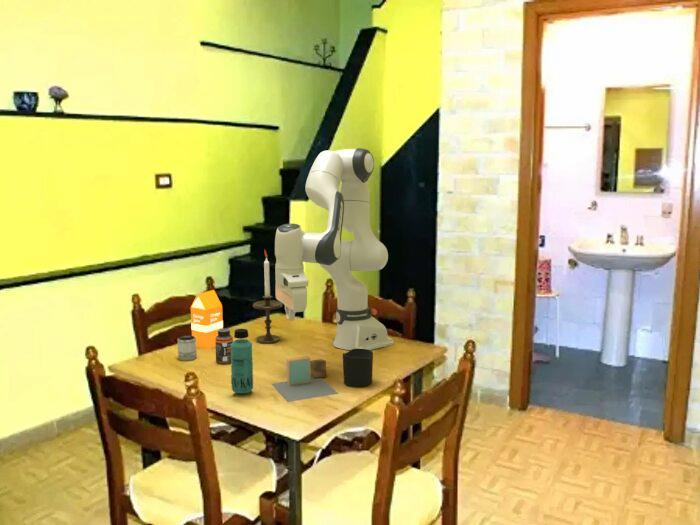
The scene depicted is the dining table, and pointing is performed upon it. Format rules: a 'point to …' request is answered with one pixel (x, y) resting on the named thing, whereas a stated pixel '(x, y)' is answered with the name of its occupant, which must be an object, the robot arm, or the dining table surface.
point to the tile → (298, 370)
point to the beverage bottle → (241, 363)
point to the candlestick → (267, 308)
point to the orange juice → (206, 318)
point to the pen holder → (358, 368)
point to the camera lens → (187, 348)
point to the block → (318, 368)
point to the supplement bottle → (223, 346)
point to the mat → (304, 389)
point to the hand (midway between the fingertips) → (290, 319)
